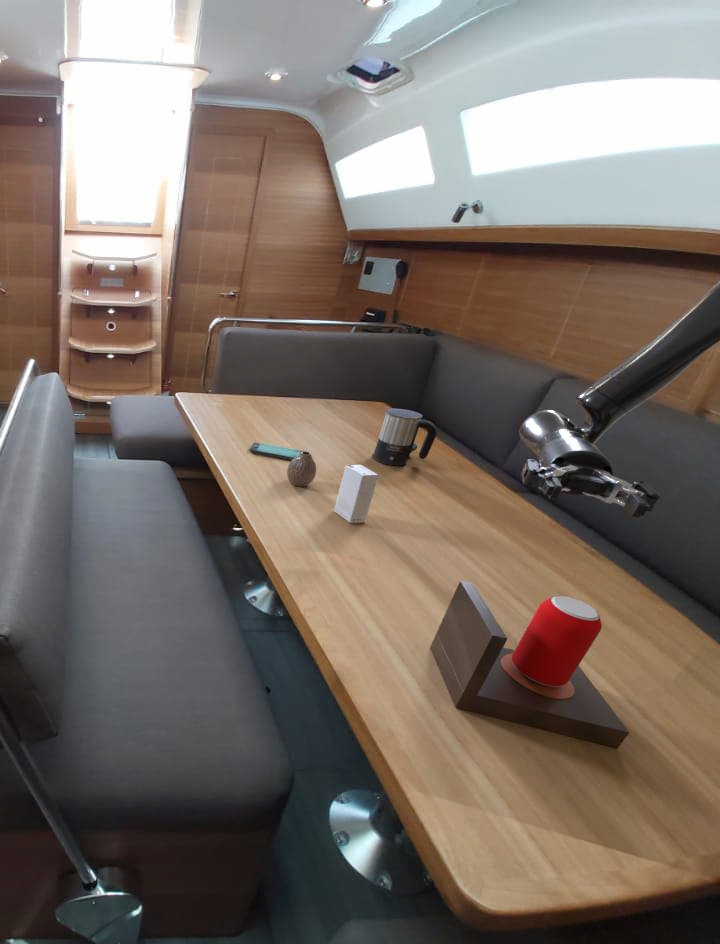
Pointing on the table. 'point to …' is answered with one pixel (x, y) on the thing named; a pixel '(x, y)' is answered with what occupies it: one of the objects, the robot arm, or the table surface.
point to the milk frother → (402, 437)
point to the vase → (302, 469)
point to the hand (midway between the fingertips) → (596, 502)
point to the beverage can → (556, 640)
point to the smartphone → (274, 451)
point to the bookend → (513, 678)
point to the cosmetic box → (355, 493)
